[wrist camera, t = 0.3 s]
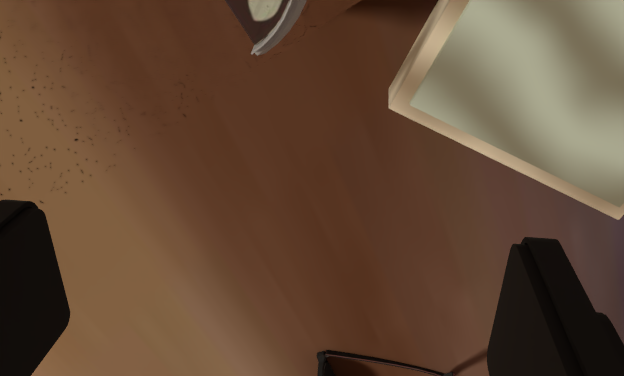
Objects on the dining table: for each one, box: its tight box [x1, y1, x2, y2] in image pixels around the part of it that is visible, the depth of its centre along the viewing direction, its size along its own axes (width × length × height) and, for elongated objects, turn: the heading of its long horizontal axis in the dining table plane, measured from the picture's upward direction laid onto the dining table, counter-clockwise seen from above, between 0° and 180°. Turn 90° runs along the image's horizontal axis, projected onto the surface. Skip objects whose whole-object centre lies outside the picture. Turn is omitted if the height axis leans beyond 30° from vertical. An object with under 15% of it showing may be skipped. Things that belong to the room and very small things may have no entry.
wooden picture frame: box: [389, 0, 624, 220], centre depth 34 cm, size 18×18×5 cm
